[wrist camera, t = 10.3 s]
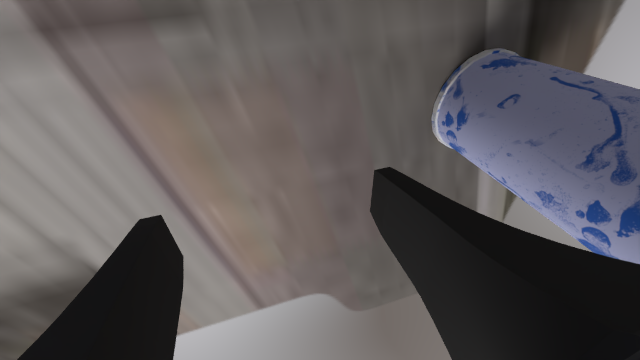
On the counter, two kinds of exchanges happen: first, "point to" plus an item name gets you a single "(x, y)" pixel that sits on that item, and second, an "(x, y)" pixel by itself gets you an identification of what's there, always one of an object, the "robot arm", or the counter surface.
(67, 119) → the counter surface
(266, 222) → the counter surface
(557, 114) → the aerosol can
